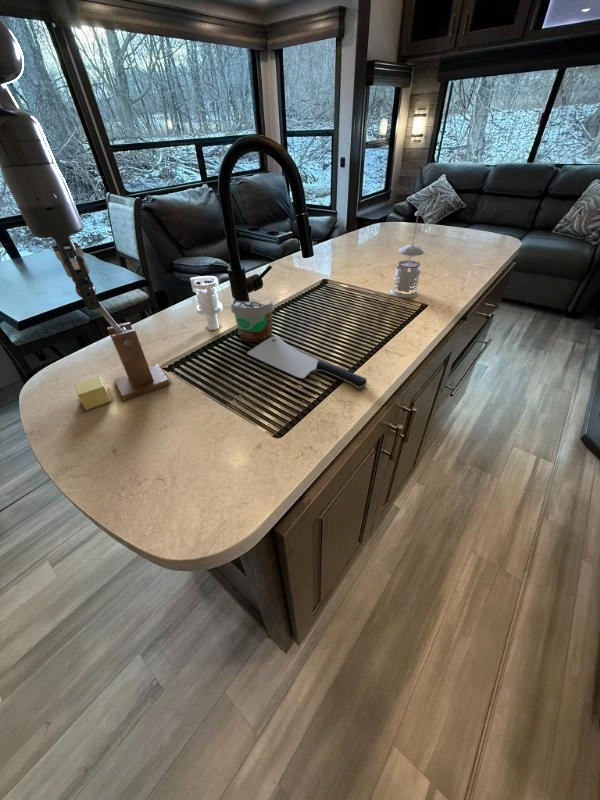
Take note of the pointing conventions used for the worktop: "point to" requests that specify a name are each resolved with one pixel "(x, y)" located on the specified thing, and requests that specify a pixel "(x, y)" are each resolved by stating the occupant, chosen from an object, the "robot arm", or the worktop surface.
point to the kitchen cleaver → (299, 361)
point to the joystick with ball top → (106, 315)
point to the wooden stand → (135, 365)
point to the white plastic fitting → (207, 299)
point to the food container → (253, 320)
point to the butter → (92, 392)
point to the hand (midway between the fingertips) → (92, 304)
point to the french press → (404, 276)
